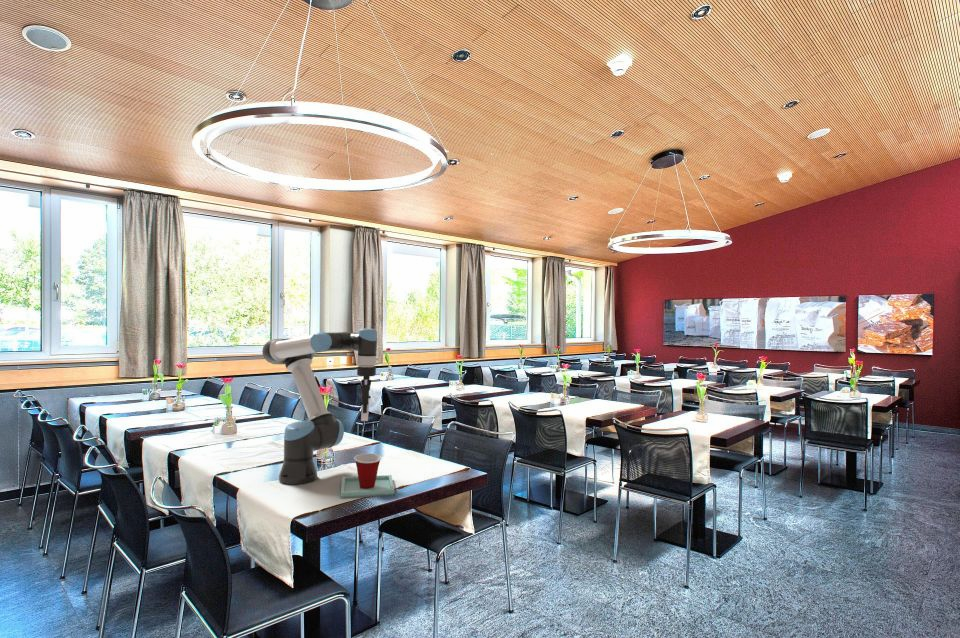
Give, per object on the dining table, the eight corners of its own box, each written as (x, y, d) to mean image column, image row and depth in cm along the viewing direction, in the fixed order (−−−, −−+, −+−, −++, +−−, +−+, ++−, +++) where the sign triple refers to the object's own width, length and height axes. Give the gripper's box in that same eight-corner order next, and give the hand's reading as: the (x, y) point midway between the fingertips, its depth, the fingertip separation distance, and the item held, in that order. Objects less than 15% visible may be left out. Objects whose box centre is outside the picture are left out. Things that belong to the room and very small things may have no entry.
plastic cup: (357, 492, 203) (357, 461, 203) (350, 484, 213) (351, 454, 213) (384, 488, 208) (385, 458, 208) (376, 481, 218) (377, 452, 218)
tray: (340, 498, 198) (340, 492, 198) (342, 482, 218) (342, 477, 218) (394, 495, 203) (394, 489, 203) (391, 479, 222) (391, 474, 222)
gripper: (375, 369, 206) (373, 423, 206) (376, 363, 230) (374, 411, 231) (356, 369, 204) (354, 423, 205) (358, 362, 229) (356, 411, 229)
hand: (364, 417), depth 218 cm, fingers open, 13 cm apart
